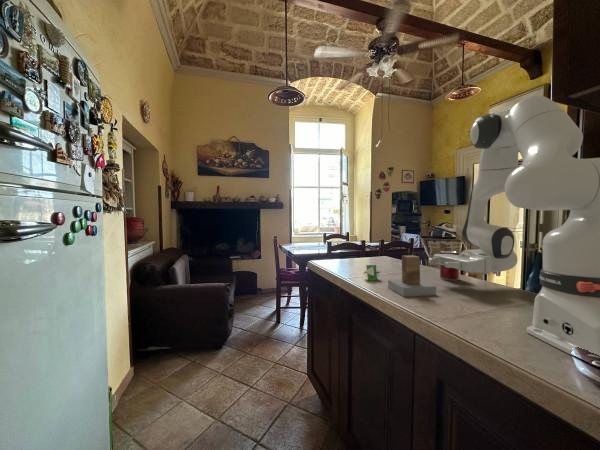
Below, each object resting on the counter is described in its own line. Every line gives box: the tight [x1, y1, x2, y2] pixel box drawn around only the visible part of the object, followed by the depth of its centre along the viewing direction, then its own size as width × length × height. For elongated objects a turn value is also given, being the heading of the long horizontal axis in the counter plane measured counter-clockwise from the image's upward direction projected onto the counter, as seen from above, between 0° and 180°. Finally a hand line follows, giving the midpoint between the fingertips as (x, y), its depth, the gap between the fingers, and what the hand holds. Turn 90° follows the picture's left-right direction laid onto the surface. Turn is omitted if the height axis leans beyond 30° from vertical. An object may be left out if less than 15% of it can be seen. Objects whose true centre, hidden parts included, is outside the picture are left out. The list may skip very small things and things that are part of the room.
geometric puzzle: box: [363, 264, 382, 281], centre depth 114 cm, size 7×7×8 cm
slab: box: [387, 278, 437, 297], centre depth 94 cm, size 12×12×3 cm
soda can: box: [439, 250, 460, 282], centre depth 111 cm, size 7×7×12 cm
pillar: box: [401, 254, 421, 285], centre depth 94 cm, size 4×4×10 cm
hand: (437, 262), depth 95 cm, fingers open, 8 cm apart
